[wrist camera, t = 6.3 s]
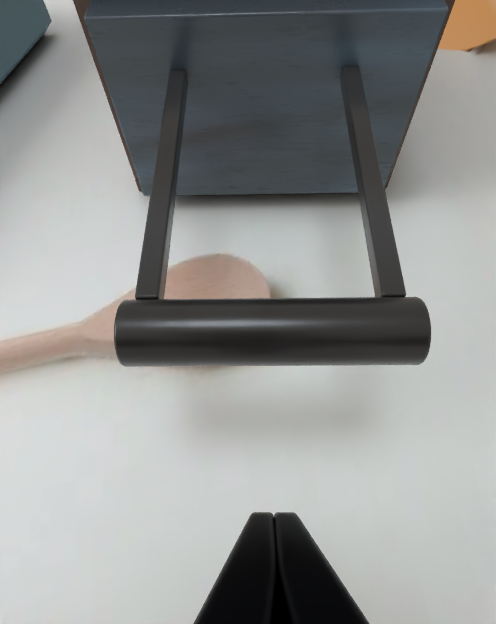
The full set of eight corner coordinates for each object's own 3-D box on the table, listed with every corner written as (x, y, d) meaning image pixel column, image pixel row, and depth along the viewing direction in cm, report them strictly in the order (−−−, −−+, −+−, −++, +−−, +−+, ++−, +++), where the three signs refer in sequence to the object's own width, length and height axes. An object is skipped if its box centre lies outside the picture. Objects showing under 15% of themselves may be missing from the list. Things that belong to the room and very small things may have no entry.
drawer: (430, 423, 15) (583, 322, 8) (106, 424, 15) (-27, 327, 8) (345, 6, 27) (374, -170, 21) (173, 10, 28) (145, -162, 21)
